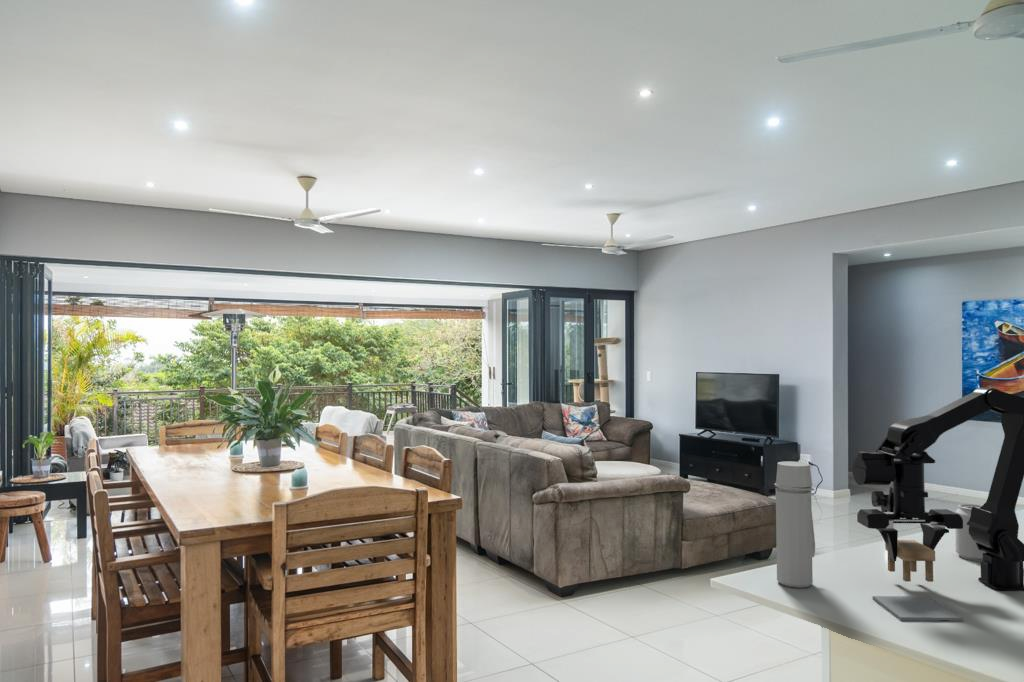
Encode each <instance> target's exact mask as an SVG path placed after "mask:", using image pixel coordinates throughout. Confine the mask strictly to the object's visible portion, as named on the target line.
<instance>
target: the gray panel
mask: <svg viewBox="0 0 1024 682" xmlns="http://www.w3.org/2000/svg"><path fill="white" fill-rule="evenodd" d="M872 600H873V601H874V602H876V603H877V604H879V606H881V607H882V608H883V609H884V610H886V611H887V612H888V613H890V614H891V615H892V616H894V617H895V618H896V619H897V620H899V621H900V622H901V621H903V622H904V621H905V622H906V621H907V622H909V621H910V622H914V621H915V622H916V621H917V622H938V621H937V620H949V621H948V622H964V617H962V616H961V615H960V614H958V613H956V612H955V611H954V610H952V609H951V608H949V607H947V606H945V604H942V603H941V602H940V601H938V600H936V599H935V598H933V597H931V596H930V595H929V596H925V595H923V596H919V595H917V596H915V595H914V596H913V595H911V596H910V595H909V596H905V595H903V596H902V595H897V596H896V595H895V596H894V595H872ZM931 620H932V621H931ZM935 620H936V621H935Z"/></svg>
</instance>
